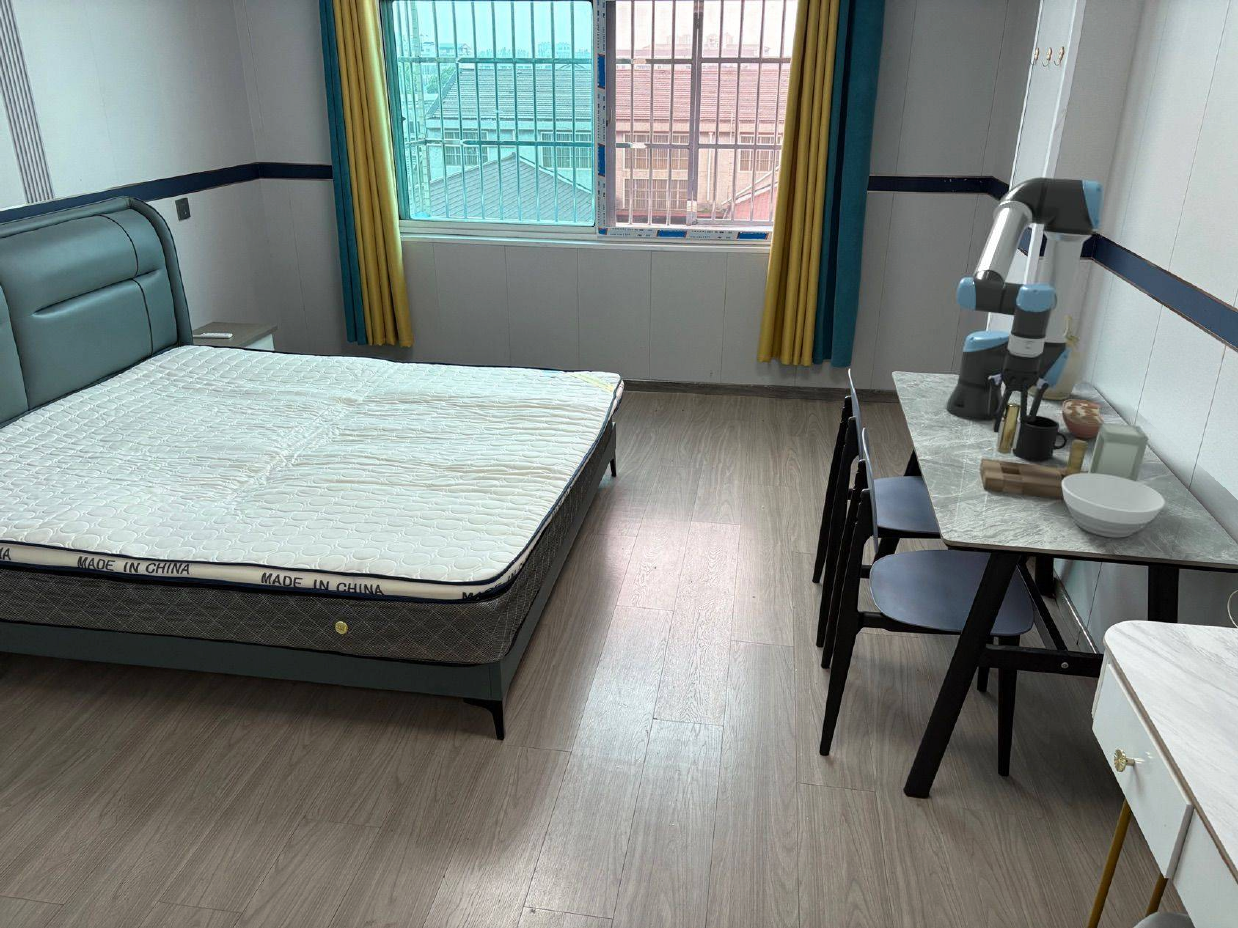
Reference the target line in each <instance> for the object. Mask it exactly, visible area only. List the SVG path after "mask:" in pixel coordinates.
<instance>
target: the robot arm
mask: <svg viewBox="0 0 1238 928" xmlns="http://www.w3.org/2000/svg"><path fill="white" fill-rule="evenodd" d="M1103 202H1104V186H1103V185H1102V183H1101V182H1099V181H1095V180H1094V181H1093V180H1086V179H1070V178H1069V179H1068V178H1056V177H1055V178H1053V177H1052V178H1049V177H1044V176H1043V177H1035V178H1030V179H1027V180H1025V181H1022V182H1020V183H1018V184H1017V185H1015V186H1014V187H1012V188H1011V189H1009V190H1008V191H1007V192H1006V193H1005V194H1004V195H1003V196H1002V197H1001V198H1000V200H999V201H998V202H997V203H996V204H997V205H996V207H995V208H994V211H993V215H992V219H993V224H992V227H991V229H990V231H989V235H988V237H987V240H986V242H985V245H984V248H983V250H982V252H981V255H980V257H979V260H978V262H977V265H976V267H975V269H974V272H973V275H972V277H971V276H970V277H963V278H962V279H960V281H959V284H958V287H957V291H956V297H955V298H956V299H955V301H956V302H955V303H956V306H957V307H958V308H960V309H964V310H965V309H966V310H970V311H972V312H974V311H976V312H985V313H993V314H1000V315H1007V316H1013V320H1012V326H1011V329H1010V332H1008V331H1002V330H981V331H976V332H972V333H970V334H969V335H967V337H966V338H965V341H964V346H963V349H962V357H961V361H960V362H961V363H960V367H959V368H960V369H959V373H958V380H957V384H956V386H955V387H954V389H953V391H952V393H951V394H950V396H949V398H948V399H947V404H946V410H947V412H949V413H951V414H952V415H954V416H957V417H960V418H963V419H967V420H975V421H986V422H987V421H994V423H993V427H992V429H993V433H996V436H995V441H994V444H995V447H997V448H998V447H999V446H1000V441H1001V436H1002V432H1003V427H1004V415H1005V410H1006V406H1007V404H1008V403H1009V401H1010V398H1011V396H1012V394H1013V392H1020V401H1019V402H1020V404H1019V405H1020V410H1019V418H1020V420H1019V419H1017V424H1016V429H1015V434H1014V438H1013V443H1012V448H1011V449H1016V444H1017V439H1018V435H1023V433H1024V429H1025V424H1026V423H1027V422H1030V421H1031V422H1033V421H1035V419H1036V416H1038V415H1037V414H1038V412H1039V409H1040V407H1041V406H1040V405H1041V402H1042V401H1043V399H1042V397H1043V394H1044V392H1045V391H1046V390H1047V388H1054V387H1055V386H1057V384H1058V382H1059V380H1060V378H1061V375H1062V373H1063V370H1064V368H1065V365H1066V363H1067V360H1068V357H1069V354H1070V352H1071V349H1070V348H1069V347H1066V343H1067V339H1066V338H1065V337H1064V334H1063V333H1064V327H1065V324H1066V321H1065V320H1066V316H1067V314H1068V310H1069V306H1070V302H1071V298H1072V292H1073V289H1074V285H1075V281H1076V276H1077V271H1078V268H1079V267H1078V266H1079V262H1080V259H1081V255H1082V249H1083V245H1084V242H1085V241H1087V240H1089V239H1090V238H1091V237H1092V235H1093V232H1094V231H1093V230H1095V231H1096V230H1099V229H1100V227H1101V222H1102V214H1103V213H1102V212H1103V204H1104V203H1103ZM1031 224H1036V225H1043V230H1042V233H1043V234H1044V235H1045V237H1046V239H1047V240H1046V244H1045V249H1044V253H1043V259H1042V262H1041V267H1040V272H1039V276H1038V280H1037V281H1038V282H1037V283H1028V284H1023V283H1015V282H1008V281H1006V280H1007V277H1008V274H1009V273H1010V269H1011V267H1012V264H1013V261H1014V258H1015V255H1016V254H1017V250H1018V248H1019V245H1020V242H1021V239H1022V236H1023V234H1024V232H1025V230H1026V229H1028V228H1029V226H1030V225H1031ZM1003 384H1004V386H1005V387H1004V392H1003V393H1002V386H1003ZM1032 386H1036V387H1037V390H1036V394H1035V396H1033V400H1032V404H1031V406H1030V410H1029V413H1028V396H1029V394H1028V390H1029V389H1030V388H1031V387H1032Z"/></svg>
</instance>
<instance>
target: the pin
mask: <svg viewBox="0 0 1238 928" xmlns="http://www.w3.org/2000/svg"><path fill="white" fill-rule="evenodd" d="M1019 416H1020V404H1017V403H1014V402H1008V404H1007V406H1006V409H1005V412H1004V414H1003V419H1004V427H1003V432H1002V436H1001V441H1000V446H999V447H997V452H998V453H1000V454H1003V455H1008V454H1011V452H1012V449H1013V448H1012V443H1013V438H1014V434H1015V429H1016V424H1017V420H1019Z"/></svg>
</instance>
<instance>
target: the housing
mask: <svg viewBox="0 0 1238 928" xmlns="http://www.w3.org/2000/svg"><path fill="white" fill-rule="evenodd" d="M1104 422H1105V421H1104ZM1104 422H1101V423H1100V427H1099V431H1098V435H1096V441H1095V444H1094V448H1093V452H1092V457H1091V460H1090V462H1089V468H1088V470H1087V471H1088V473H1097V474H1106V475H1112V476H1117V477H1121V478H1126V479H1129V480H1132V481H1135V482H1137V481H1138V477H1139V475H1140V471H1141V467H1142V463H1143V459H1144V455H1145V453H1146V449H1147V445H1148V440H1149V437H1148V436H1147V435H1146V433H1145V432H1144V430H1143V429H1142V428H1141V427H1140V426H1138V425H1130V424H1121V423H1111V422H1105V423H1104Z"/></svg>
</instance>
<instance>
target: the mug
mask: <svg viewBox="0 0 1238 928" xmlns="http://www.w3.org/2000/svg"><path fill="white" fill-rule="evenodd" d="M1018 420H1020V417H1018ZM1059 429H1060V423H1059V422H1058V421H1057V420H1054V419H1052V418H1049V417H1046V416H1041V415H1036V419H1035V421H1033V422H1031V421H1030V422H1027V423H1026V424H1025V429H1024V433H1023V435H1018V439H1017V444H1016V449H1013V448H1011V452H1012V453H1013V455H1014V456H1016V457H1018V458H1021V459H1024V460H1027V461H1032V462H1033V461H1034V462H1047V461H1049V460H1051V459H1052V458H1053V456H1054V451H1056V450H1061V449H1063V448H1065V447H1066V446H1067V444H1068V437H1067V435H1066V434H1064V433H1063V432H1060V431H1059ZM1057 437H1061V438H1062V439H1063V443H1062V444H1060V445H1056V443H1057Z"/></svg>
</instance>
